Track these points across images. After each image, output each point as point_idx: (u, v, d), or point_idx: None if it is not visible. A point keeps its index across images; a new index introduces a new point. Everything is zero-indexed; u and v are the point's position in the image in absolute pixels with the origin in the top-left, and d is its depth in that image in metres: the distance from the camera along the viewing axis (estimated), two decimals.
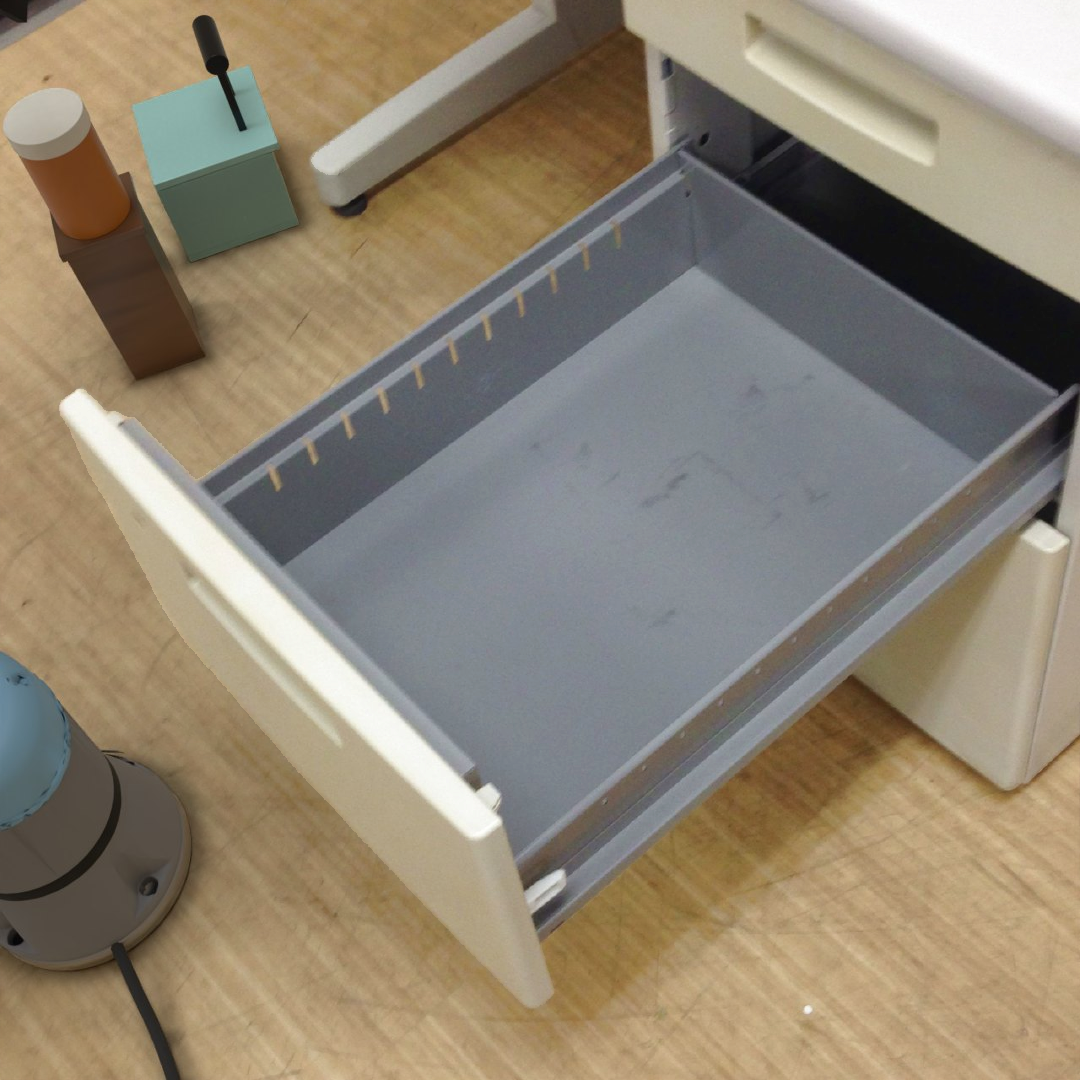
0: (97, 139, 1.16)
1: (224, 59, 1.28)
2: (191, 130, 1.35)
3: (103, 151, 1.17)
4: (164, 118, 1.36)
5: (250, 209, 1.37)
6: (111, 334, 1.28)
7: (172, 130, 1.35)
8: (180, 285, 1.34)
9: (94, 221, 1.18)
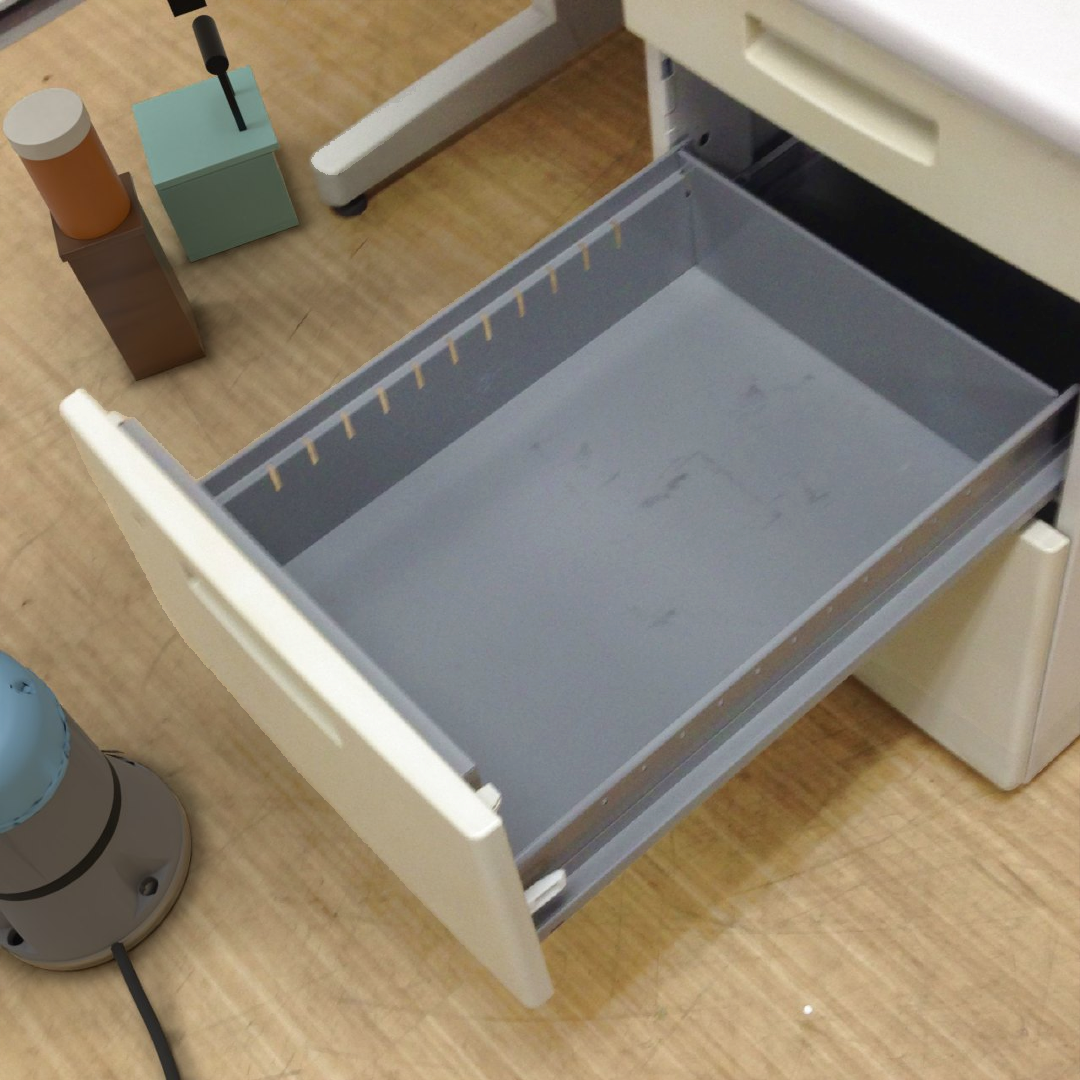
0: (97, 139, 1.16)
1: (224, 59, 1.28)
2: (191, 130, 1.35)
3: (103, 151, 1.17)
4: (164, 118, 1.36)
5: (250, 209, 1.37)
6: (111, 334, 1.28)
7: (172, 130, 1.35)
8: (180, 285, 1.34)
9: (94, 221, 1.18)
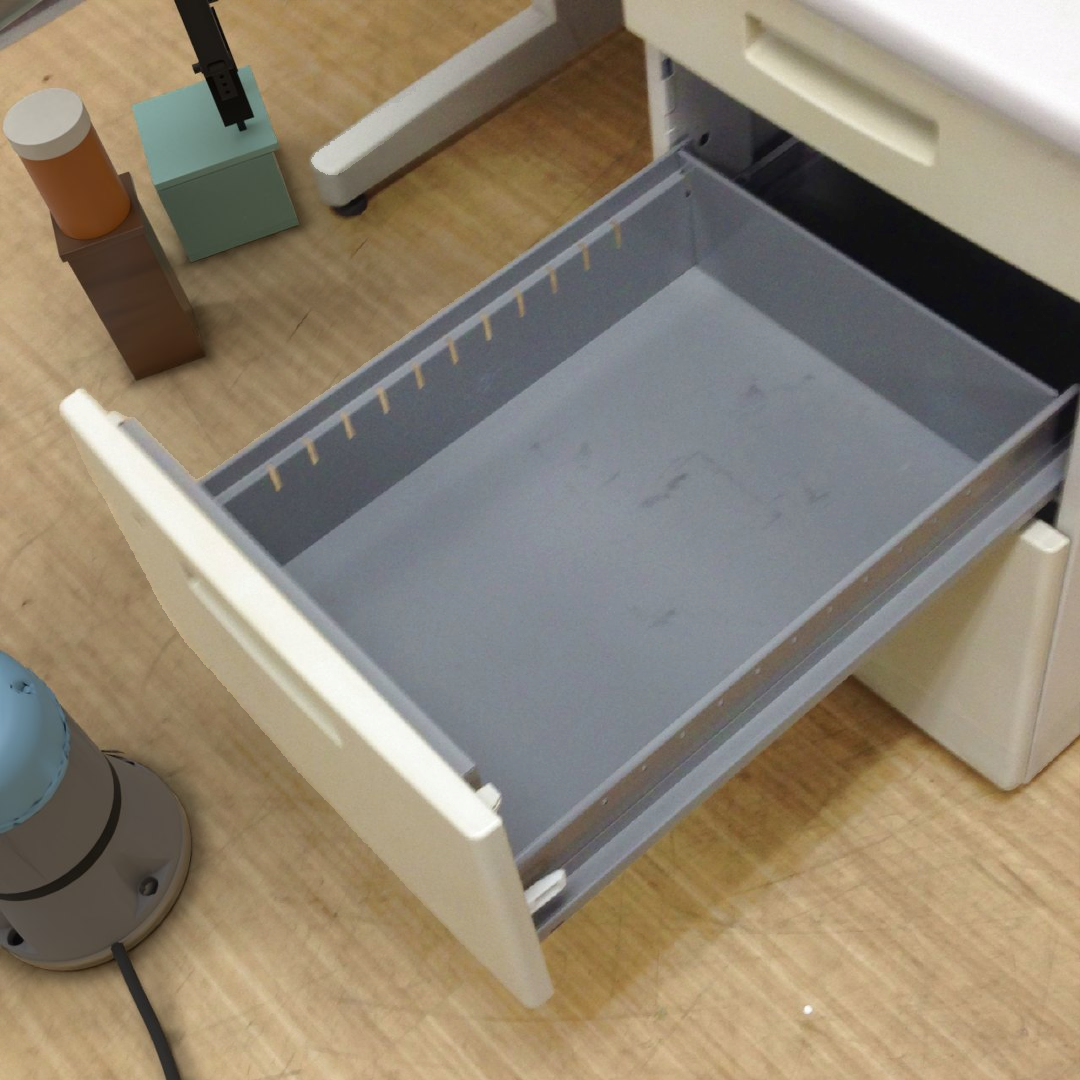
0: (97, 139, 1.16)
1: None
2: (191, 130, 1.35)
3: (103, 151, 1.17)
4: (164, 118, 1.36)
5: (250, 209, 1.37)
6: (111, 334, 1.28)
7: (172, 130, 1.35)
8: (180, 285, 1.34)
9: (94, 221, 1.18)
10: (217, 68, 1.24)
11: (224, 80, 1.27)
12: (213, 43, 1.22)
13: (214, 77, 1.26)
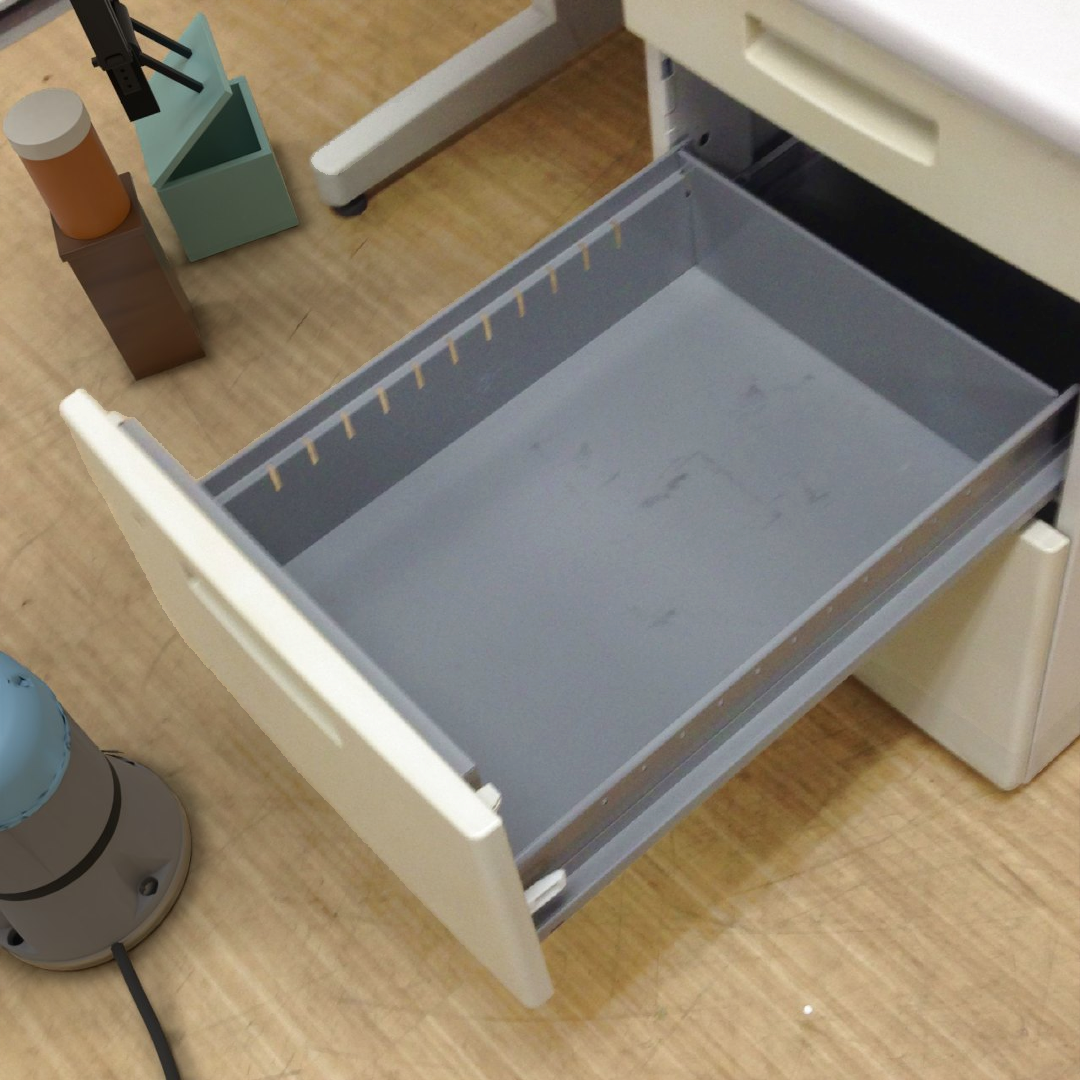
0: (97, 139, 1.16)
1: None
2: (168, 111, 1.33)
3: (103, 151, 1.17)
4: None
5: (250, 209, 1.37)
6: (111, 334, 1.28)
7: (156, 118, 1.34)
8: (180, 285, 1.34)
9: (94, 221, 1.18)
10: (115, 61, 1.20)
11: (125, 74, 1.24)
12: (109, 36, 1.19)
13: (114, 71, 1.23)
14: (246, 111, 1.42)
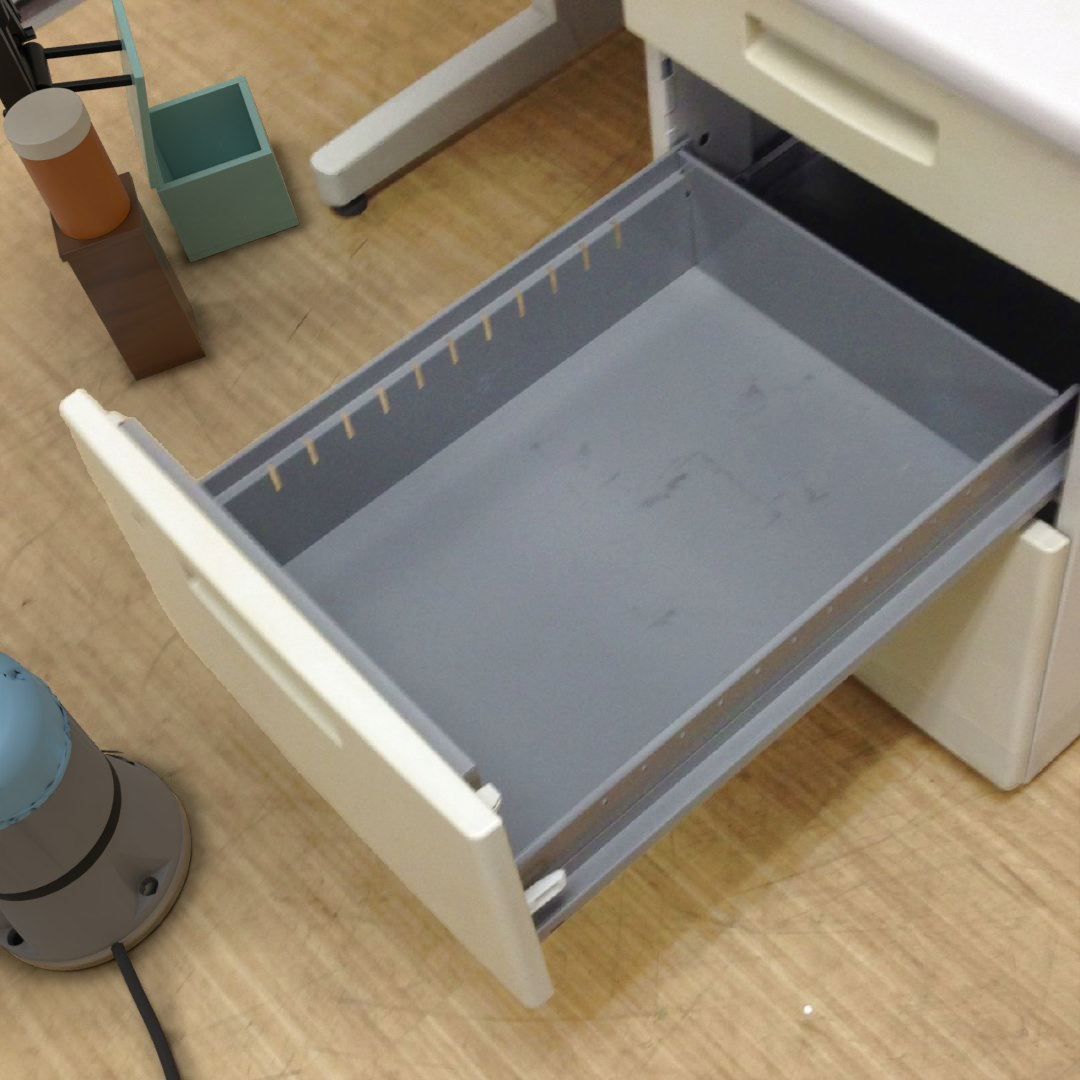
0: (97, 139, 1.16)
1: (36, 87, 1.24)
2: (133, 108, 1.31)
3: (103, 151, 1.17)
4: (131, 108, 1.35)
5: (250, 209, 1.37)
6: (111, 334, 1.28)
7: (134, 117, 1.33)
8: (180, 285, 1.34)
9: (94, 221, 1.18)
10: None
11: None
12: (18, 88, 1.19)
13: None
14: (246, 111, 1.42)
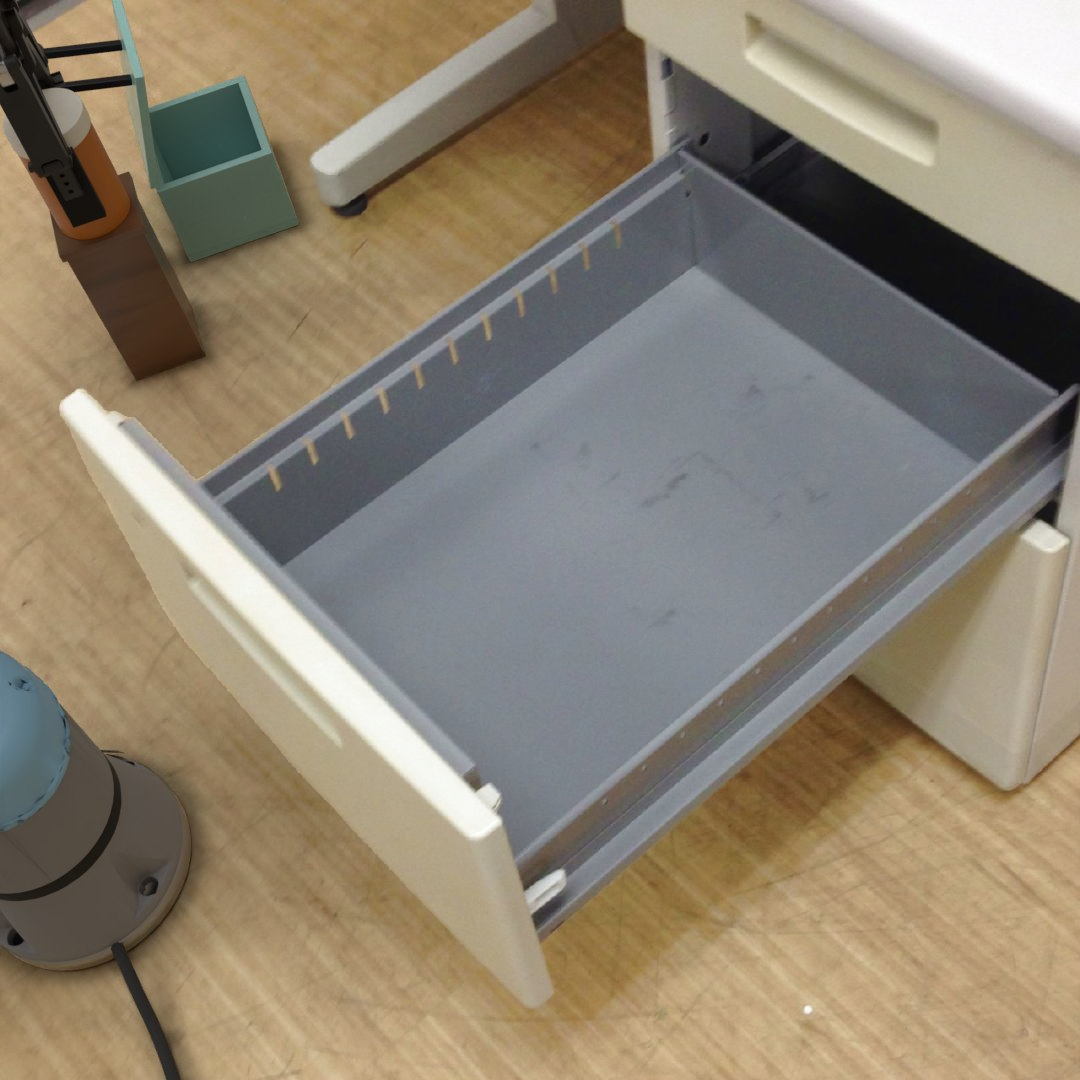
0: (97, 139, 1.16)
1: None
2: (133, 108, 1.31)
3: (103, 151, 1.17)
4: (131, 108, 1.35)
5: (250, 209, 1.37)
6: (111, 334, 1.28)
7: (134, 117, 1.33)
8: (180, 285, 1.34)
9: (94, 221, 1.18)
10: (53, 168, 1.09)
11: (66, 179, 1.12)
12: (46, 141, 1.07)
13: (54, 176, 1.12)
14: (246, 111, 1.42)
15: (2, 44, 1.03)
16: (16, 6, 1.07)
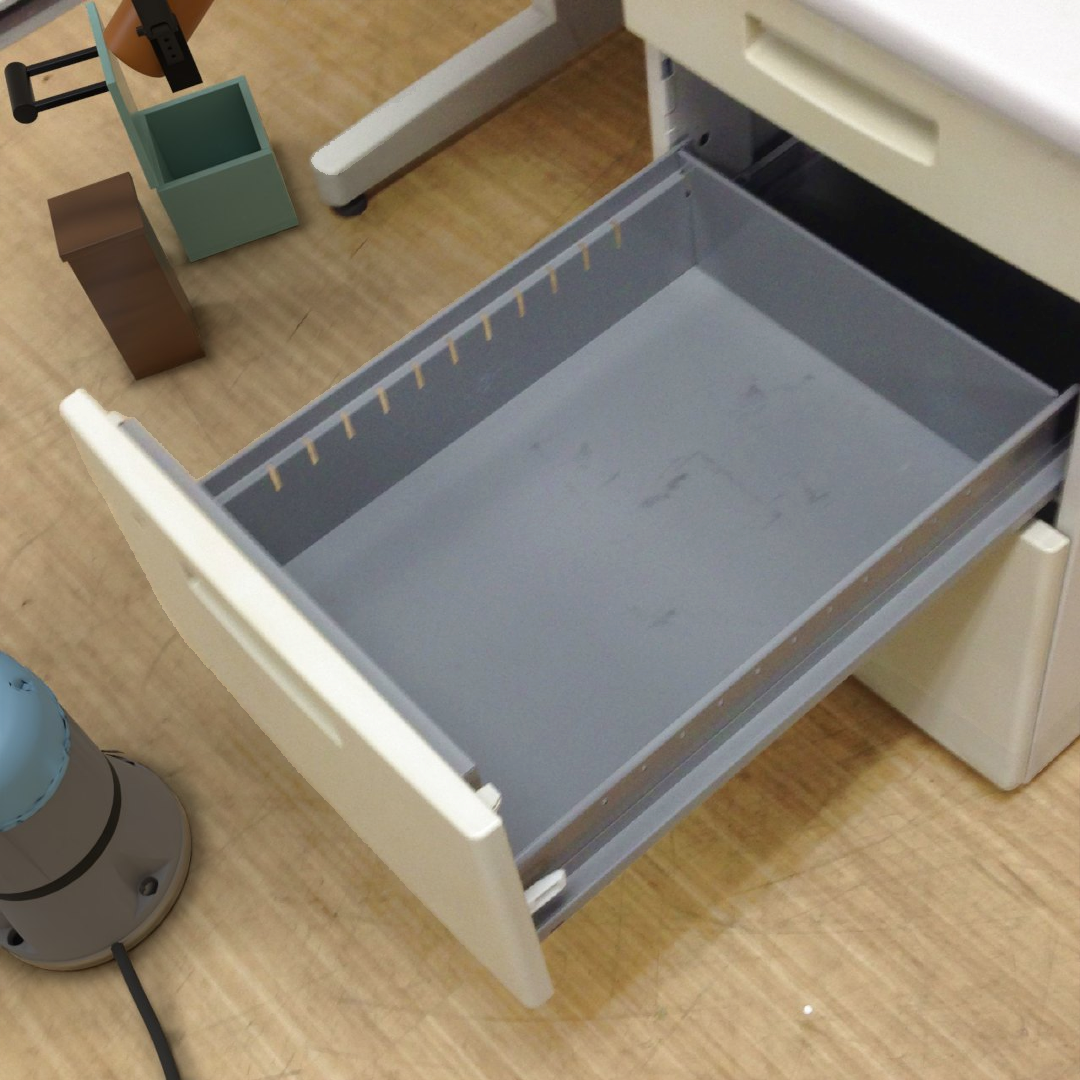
0: None
1: (18, 108, 1.25)
2: None
3: None
4: None
5: (250, 209, 1.37)
6: (111, 334, 1.28)
7: None
8: (180, 285, 1.34)
9: (152, 60, 1.26)
10: (161, 30, 1.20)
11: (169, 43, 1.23)
12: (156, 4, 1.18)
13: (159, 40, 1.22)
14: (246, 111, 1.42)
15: None
16: None
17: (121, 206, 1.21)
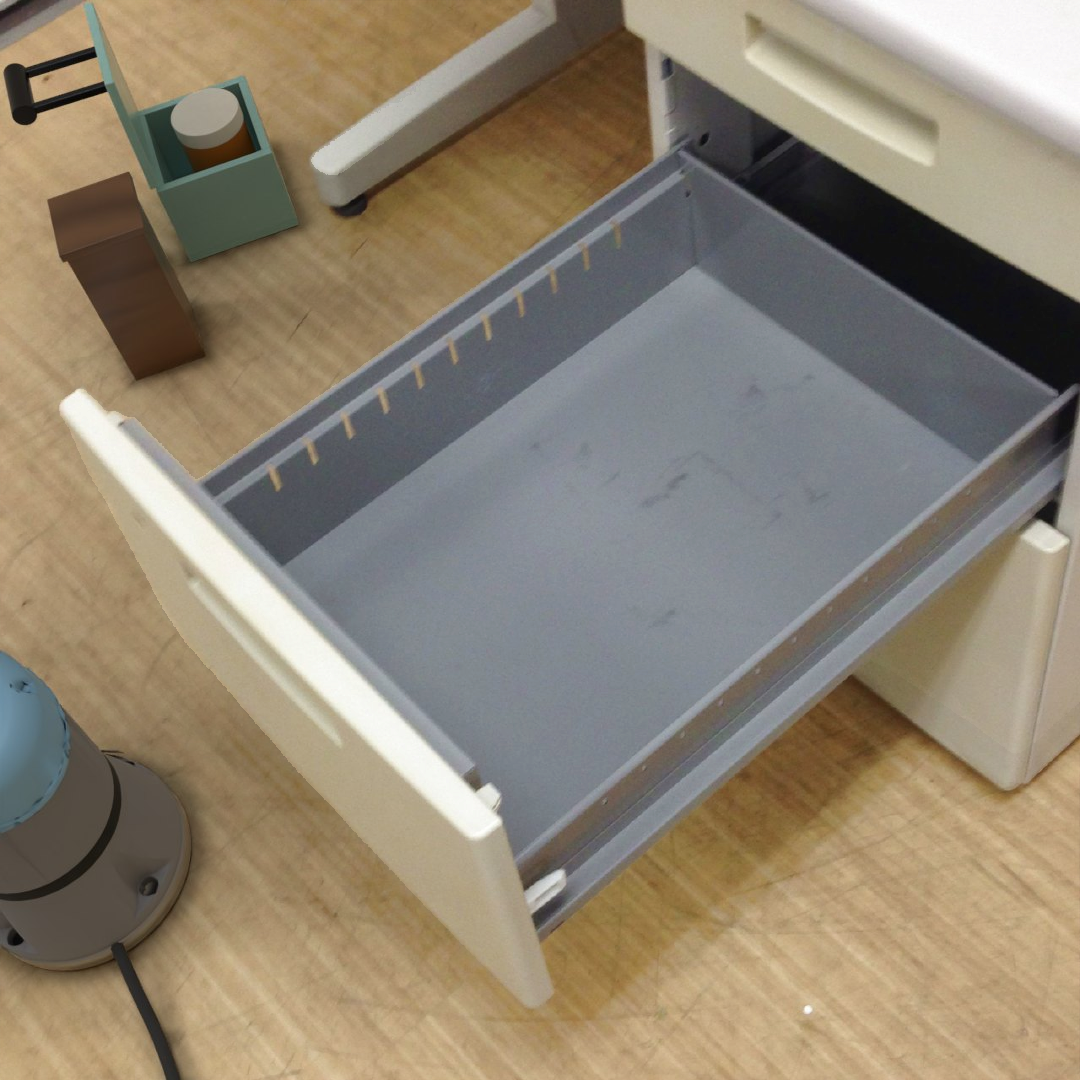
0: (247, 131, 1.37)
1: (17, 109, 1.25)
2: None
3: (251, 141, 1.38)
4: None
5: (250, 209, 1.37)
6: (111, 334, 1.28)
7: None
8: (180, 285, 1.34)
9: None
10: None
11: None
12: None
13: None
14: (246, 111, 1.42)
15: None
16: None
17: (121, 206, 1.21)
